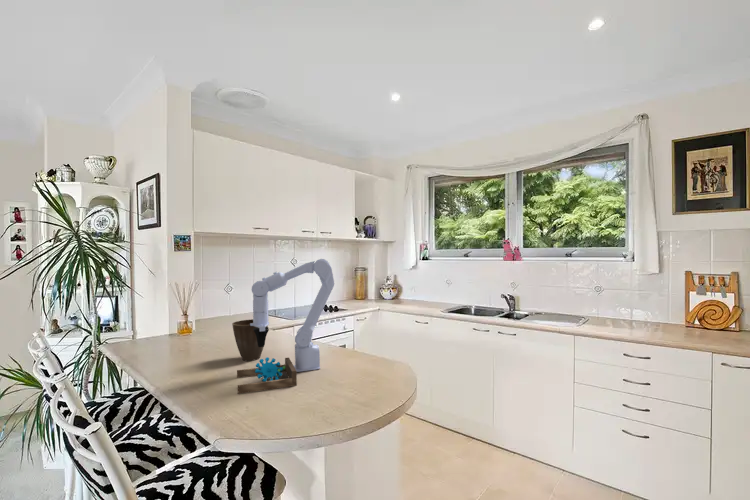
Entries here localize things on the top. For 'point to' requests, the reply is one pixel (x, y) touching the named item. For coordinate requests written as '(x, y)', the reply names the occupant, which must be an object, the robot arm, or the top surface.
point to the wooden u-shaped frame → (268, 385)
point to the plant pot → (246, 340)
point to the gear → (269, 369)
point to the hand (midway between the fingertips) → (261, 346)
